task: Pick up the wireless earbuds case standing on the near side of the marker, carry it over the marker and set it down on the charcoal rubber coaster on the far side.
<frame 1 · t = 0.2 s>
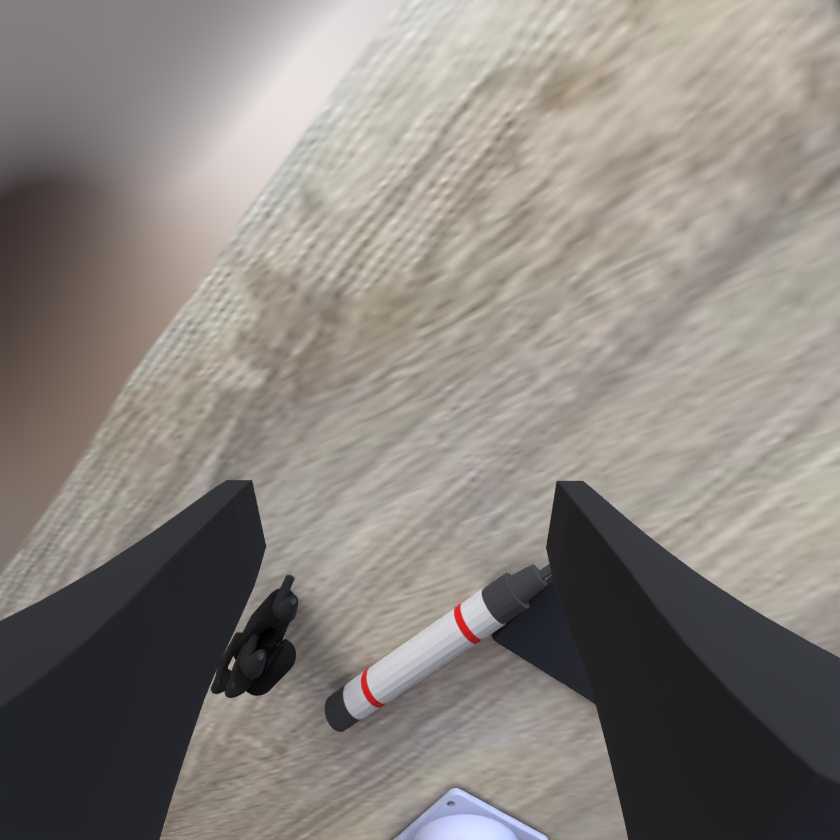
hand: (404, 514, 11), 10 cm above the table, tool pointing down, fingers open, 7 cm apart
coaster: (610, 622, 24), on the table
wireless earbuds: (285, 605, 25), on the table
marker: (438, 626, 25), on the table
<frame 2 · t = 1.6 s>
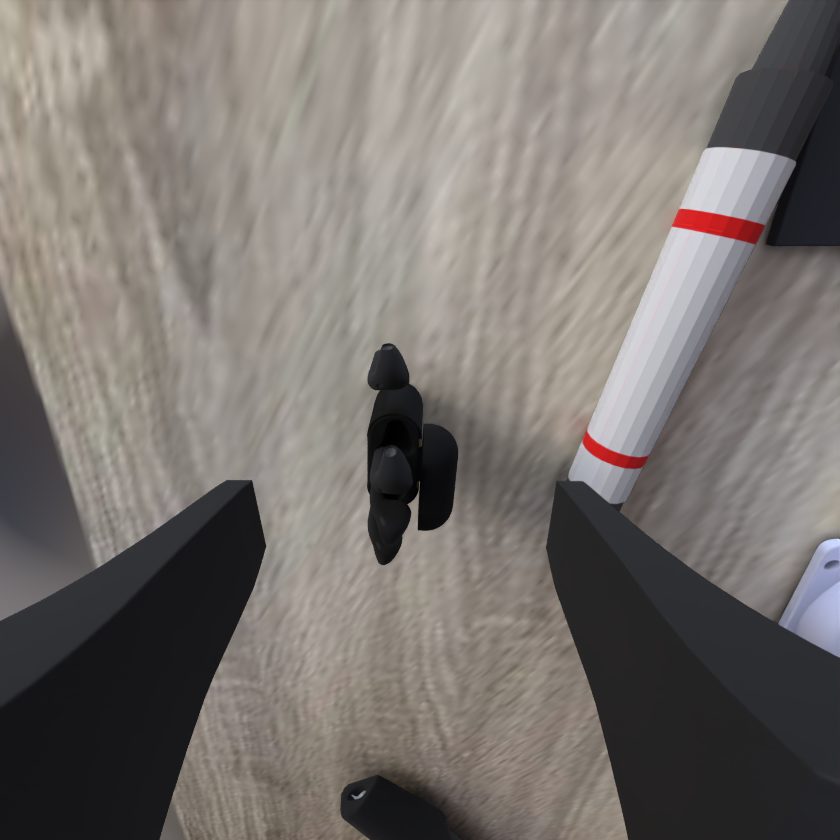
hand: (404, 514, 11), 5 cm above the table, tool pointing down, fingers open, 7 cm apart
wireless earbuds: (413, 415, 16), on the table
electric trimmer: (427, 814, 28), on the table
marker: (659, 297, 14), on the table
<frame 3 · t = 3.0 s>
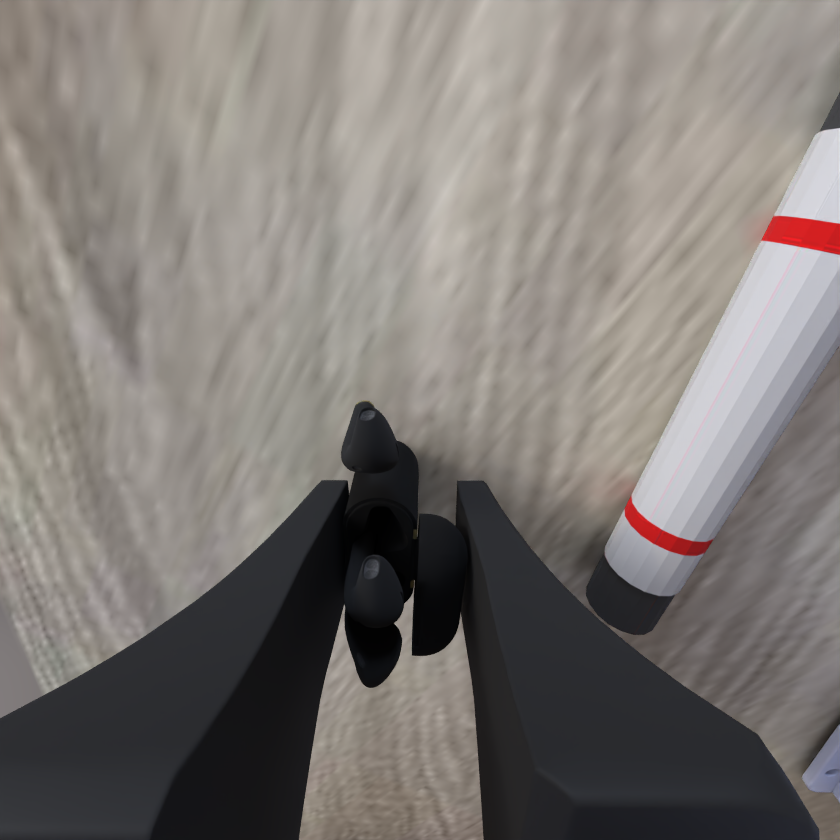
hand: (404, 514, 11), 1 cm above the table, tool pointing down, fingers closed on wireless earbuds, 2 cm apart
wireless earbuds: (407, 476, 12), on the table, touching gripper
marker: (732, 331, 10), on the table
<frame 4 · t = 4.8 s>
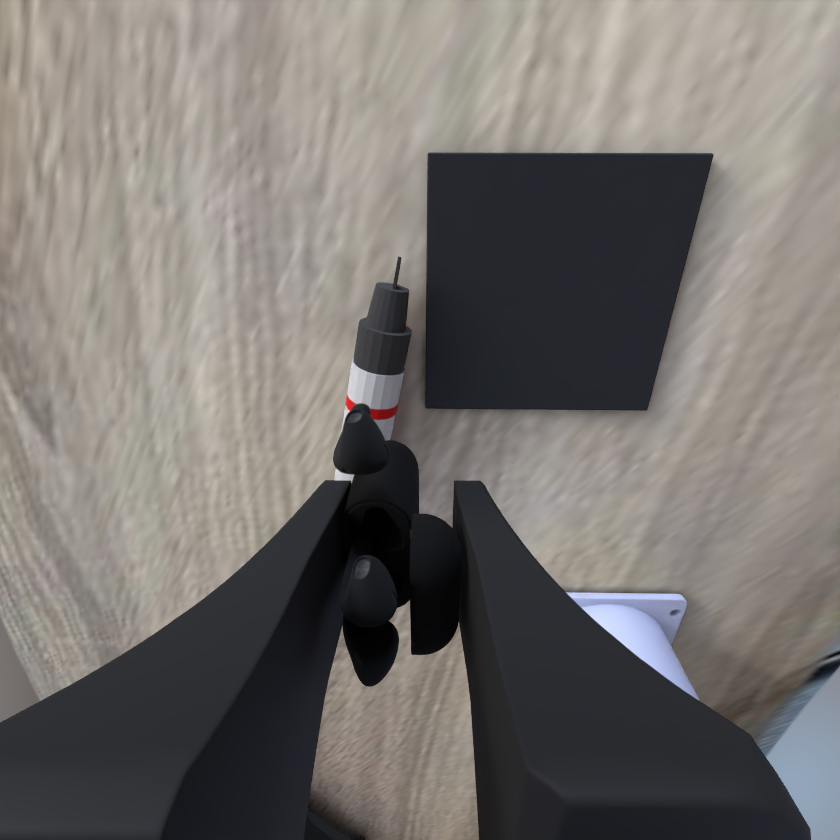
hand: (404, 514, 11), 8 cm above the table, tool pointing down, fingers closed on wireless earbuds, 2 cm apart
coaster: (548, 295, 17), on the table
wireless earbuds: (410, 476, 12), point 7 cm above the table, touching gripper
electric trimmer: (297, 801, 34), on the table
marker: (367, 433, 20), on the table
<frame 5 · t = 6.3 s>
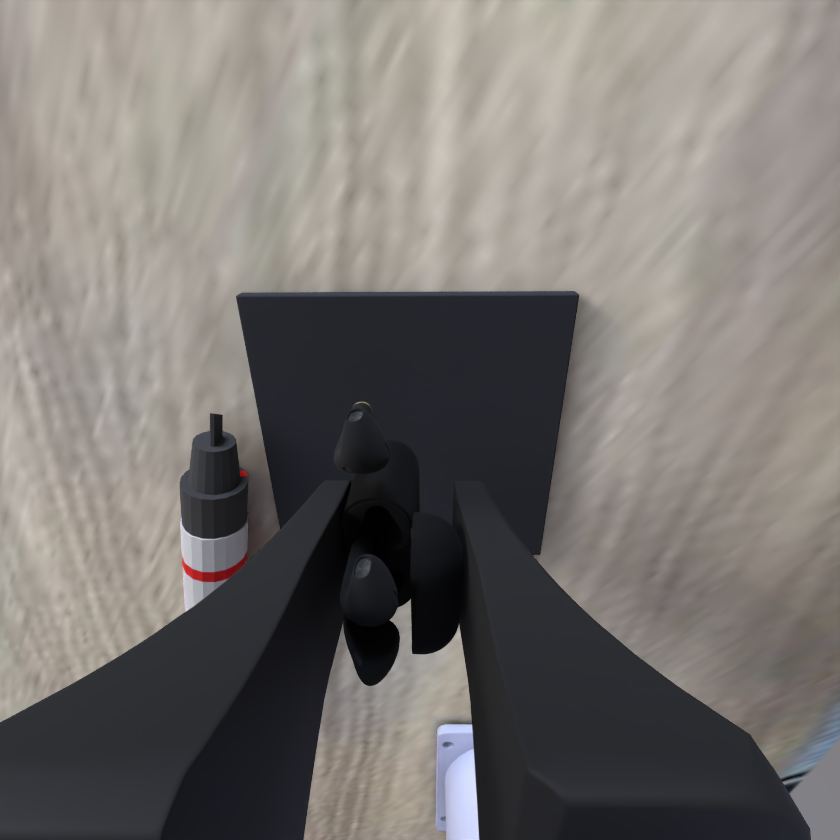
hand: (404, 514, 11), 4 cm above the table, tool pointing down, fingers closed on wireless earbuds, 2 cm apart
coaster: (410, 437, 14), on the table
wireless earbuds: (410, 475, 12), point 2 cm above the table, touching gripper
marker: (229, 572, 17), on the table
when the fingers open (2 cm above the table, at t = 7.1 s): wireless earbuds stays where it is, resting on coaster.
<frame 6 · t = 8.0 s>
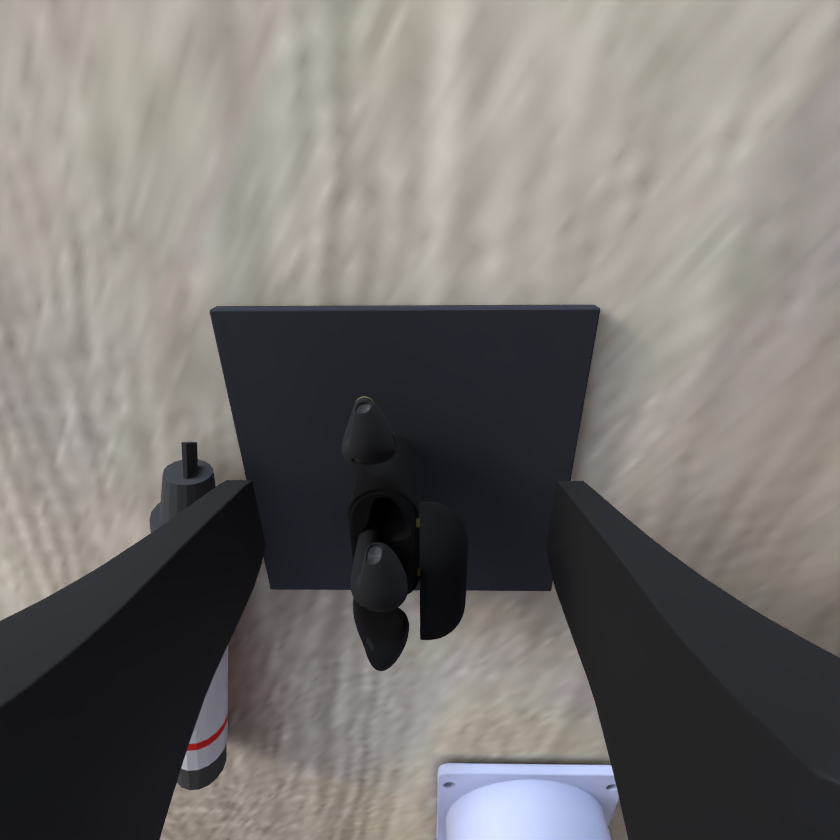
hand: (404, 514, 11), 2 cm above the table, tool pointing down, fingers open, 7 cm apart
coaster: (407, 465, 13), on the table
wireless earbuds: (410, 469, 13), resting on coaster
marker: (211, 606, 16), on the table
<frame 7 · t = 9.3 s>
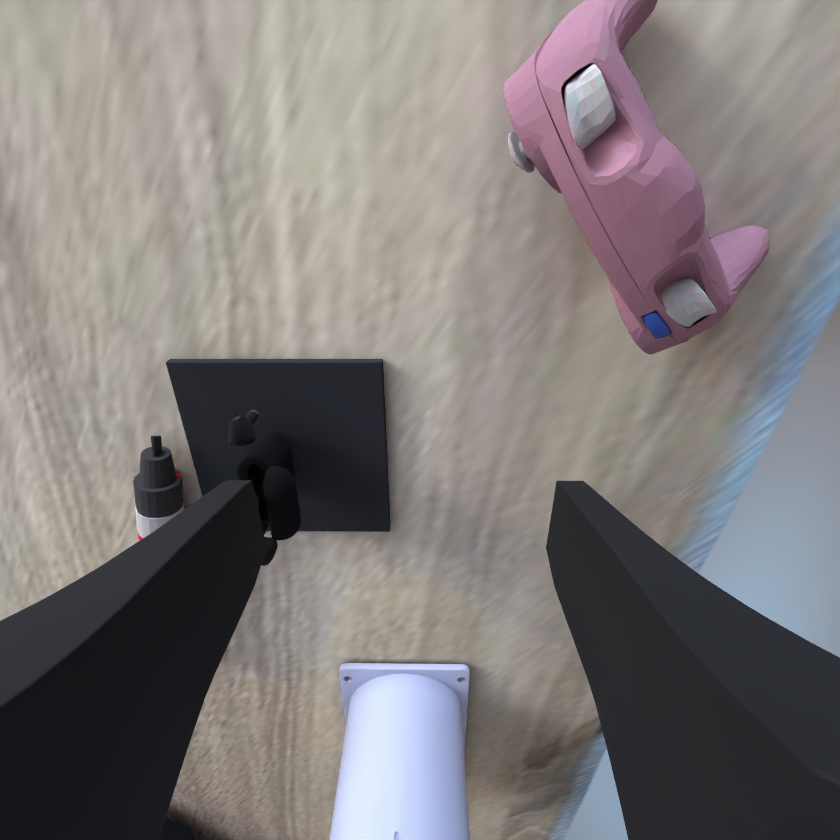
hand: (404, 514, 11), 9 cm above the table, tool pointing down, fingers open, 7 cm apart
coaster: (290, 450, 21), on the table
video game controller: (614, 182, 16), on the table
wireless earbuds: (291, 453, 21), resting on coaster
electric trimmer: (189, 829, 39), on the table
marker: (176, 545, 24), on the table
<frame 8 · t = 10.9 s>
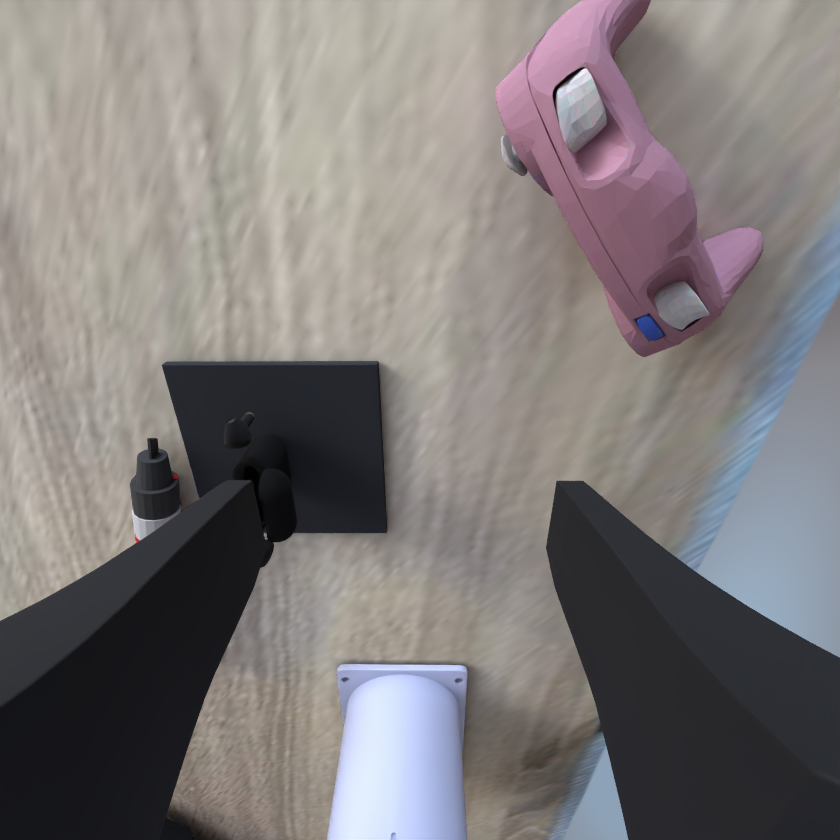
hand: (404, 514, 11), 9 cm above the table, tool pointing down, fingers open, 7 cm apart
coaster: (287, 452, 21), on the table
video game controller: (609, 184, 16), on the table
wireless earbuds: (287, 455, 21), resting on coaster
electric trimmer: (188, 829, 39), on the table
marker: (173, 546, 24), on the table
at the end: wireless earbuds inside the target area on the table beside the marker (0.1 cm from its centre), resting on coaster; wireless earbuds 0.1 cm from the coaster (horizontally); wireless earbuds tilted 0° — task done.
